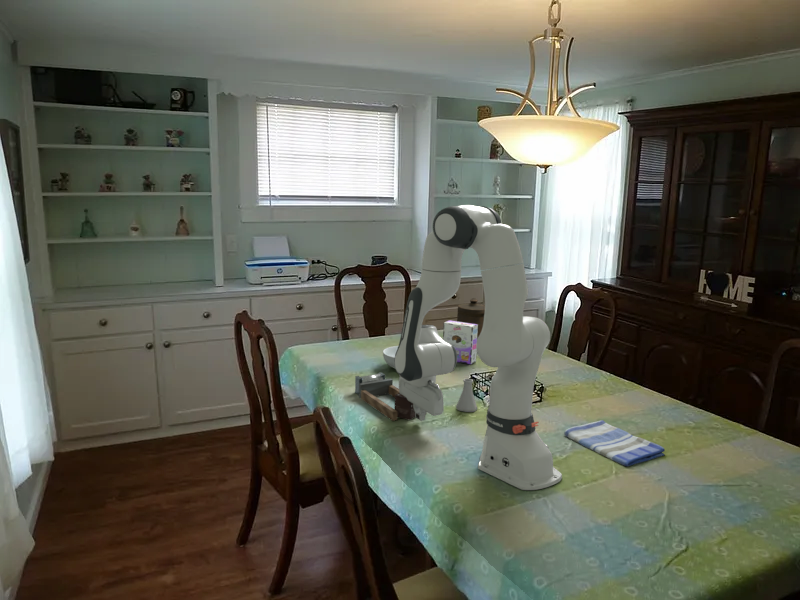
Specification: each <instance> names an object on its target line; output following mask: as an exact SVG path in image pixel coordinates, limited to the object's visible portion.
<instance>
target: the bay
mask: <svg viewBox="0 0 800 600" xmlns="http://www.w3.org/2000/svg"><path fill="white" fill-rule="evenodd" d="M398 393H399V387H397V386H396V385H394V384H393V379H392V378H390V377H389V378H385V379H384V380H378V381H372V382H366V383H360V384H359V395H358V398H359V399H360V400H362V401H364V402H365V403H366V404H368V405H369V406H370V407H372V408H373V409H375V410H376V411H378V412H379V413H380V414H382V415H383V414H384V416H385V417H386V416H387V417H386V418H387V419H389V418H390V420H391V421H392V422H396V421H398V417H397V411H396V410H395V408H394V407H392V406H390V405H388V404H387V403H386V402H384V401H382V400H381V399H380V398H378V397H379V396H383V395H384V394H385V395H390V396H391V395H392V396H391V397H393V398H395V395H396V394H398ZM378 395H379V396H378ZM395 420H396V421H395Z"/></svg>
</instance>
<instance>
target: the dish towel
mask: <svg viewBox="0 0 800 600" xmlns="http://www.w3.org/2000/svg"><path fill="white" fill-rule="evenodd" d="M563 435H564V436H565V437H567V438H569V439H571V440H572V441H573V442H576V443H578V444H580V446H583V447H585V448H587V449H588V450H591V451H594V452H596V453H597V454H599V455H601V456H603V457H605V458H608V459H610V460H612V461H613V462H616V463H618V464H620V465H622V466H625V467H630V466H633V465H637V464H640V463H643V462H647V461H650V460H653V459H656V458H659V457H662V456H665V455H666V454H665V453H664V452H665V448H664V447H663V446H661V445H660V444H657V443H655V442H652V441H649V440H647V439H645V438H643V437H639V436H635V435H633V434H631V433H630V432H628V431H626V430H623V429H621V428H619V427H616V426H613V425H611V424H609V423H607V422H605V420H598V421H594V422H593V421H592V422H589V423H584V424H582V425H577V426H576V425H574V426H572V427H569V428H567V429H565V430H564V431H563Z"/></svg>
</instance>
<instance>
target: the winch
mask: <svg viewBox="0 0 800 600" xmlns="http://www.w3.org/2000/svg"><path fill="white" fill-rule="evenodd" d="M384 379H386V374H385V373H383V372H382V371H381V372H378V373H375V374H370V375H369V374H368V375H362V376H359V375H356V376H355V378H354V380H355V382H354V383H355V386H354V387H355V388H354V389H355V390H354V392H355V394H357V395H358V396H359V384H360V383H366V382H372V381H378V380H384Z"/></svg>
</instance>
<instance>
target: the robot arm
mask: <svg viewBox="0 0 800 600" xmlns="http://www.w3.org/2000/svg"><path fill="white" fill-rule="evenodd" d="M469 248H470V249H473V250H474V251H475V252H476V255H477V258H478V261H479V268H480V275H481V280H482V286H483V287H482V288H483V293H484V305H485V314H484V322H483V328H482V331H481V333H480V335H479V337H478V339H477V343H476V350H477V354H476V355H477V356H478V358H479V359H480V361H481V362H482V363H484V365H485V366H487V367H490V368H497V369H496V370H495V373H494V375H493V377H492V378H491V380H490V386H489V387H490V388H489V404H488V408H487V411H486V416H485V417H486V425H487V427H486V431H485V433H484V437H483V442H482V450H481V454H480V456H479V462H478V464H477V468H478V470H480V471H482V472H484V473H486V474H488V475H491V476H492V477H494V478H497V479H499V480H501V481H503V482H504V483H507V484H509V485H511V486H512V487H515V488H516V489H519V490H522V491H535V490H536V491H537V490H541V489H545V488H548V487H552V486H553V485H556V484H558V483H560V482H561V481H562V479H563V474H562V473H561V472H560V471H559V470H558V469H556V468H555V467H554V458H553V453H552V452H551V450H550V448H549V445H548V444H546V443H545V442H544V440H542V438H541V437H540V435H539V433H538V432H537V431H536V427H538V426H539V425H538V424H539V421H535V419H534V415H533V411H532V410H533V408H532V407H533V396H534V386H535V383H536V377H537V374H538V372H539V368H540V364H541V361H542V358H543V354H544V352H545V350H546V349H547V346H548V345H549V343H550V340H551V332H550V328H549V326H548V324H546V322H545V321H544V320H543V319H541V318H539V317H534V316H526V315H525V316H524V308H525V303H526V301H527V298H528V295H529V289H528V288H529V287H528V281H527V275H526V269H525V263H524V258H523V254H522V250H521V247H520V243H519V240H518V238H517V235H516V232H515V230H514V229H513V227H511V226H510V225H509V224H503V223H502V219H501V216H500V215H499V214H498V212H496V210H494V209H492V208H491V207H489V206H488V207H487V206H484V205H482V206H480V205H479V206H477V205H472V204H461V205H450V206H447V207H444V208H442V209H441V210H439V211H438V212H437V213H436V215H435V216H434V218H433V222H432V231H431V232H430V233H428V234H427V236H426V239H425V242H424V246H423V253H422V259H421V260H422V261H421V272H420V273H421V274H420V278H419V279H418V282H417V285H416V286H415V288H413V289H412V290H411V291H410V293H409V296H408V300H407V301H406V302H407V303H406V308H405V313H404V317H403V318H404V319H403V323H402V329H401V333H400V339H399V343H398V345H397V346H398V349H397V351H396V354H395V359H394V365H395V368H394V370H395V372H396V373H397V374H398V375H399V378H398V389H399V393H400V394H401V395H403V396H405V397H406V398H407V400H408V401H410V402H411V403H413V408H414V411H415V418H416V419H417V420H418V421H419V422H422V421H425V420H426V415H427V413H428V414H429V415H431V416H432V417H436V416H439V415H442V414H443V413H444V394H443V391H442V389H441V388H440V385H439V384H438V383H437V382H436V381H437V376H440V375H447V374H451V373H452V372H454V370H455V368H456V366H457V363H458V362H457V352H456V349H455V348H454V347H453V346H452V345H451V344H450V343H449V342H446V341H445V340H443V337H441V336H440V334H439V332H438V329H437V326H435V325H433V324H423V322H424V319H425V316H426V315H427V314H428V313H429V311H431V310H432V309H433V308H435V307H437V306H439V305H441V304H443V303H445V302H446V301H448V300H450V299H451V298H452V297H454V296H455V295H456V293H457V292H458V291H459V288H460V286H461V282H462V281H461V279H462V258H463V253H464V252H465V250H468V249H469ZM415 418H414V419H415Z"/></svg>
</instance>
